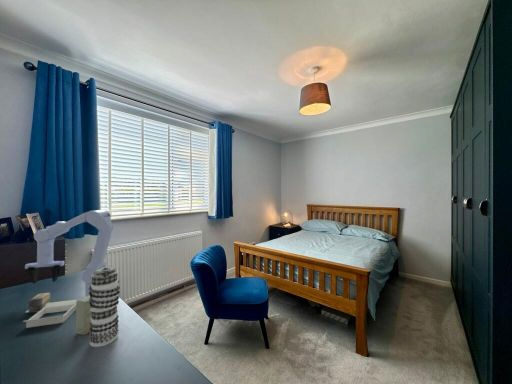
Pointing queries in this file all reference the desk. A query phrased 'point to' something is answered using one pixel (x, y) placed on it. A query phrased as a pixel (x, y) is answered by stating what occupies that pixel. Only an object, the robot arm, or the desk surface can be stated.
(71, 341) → the desk surface
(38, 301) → the block
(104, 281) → the decorative candle
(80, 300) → the skincare box
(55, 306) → the white flat frame
